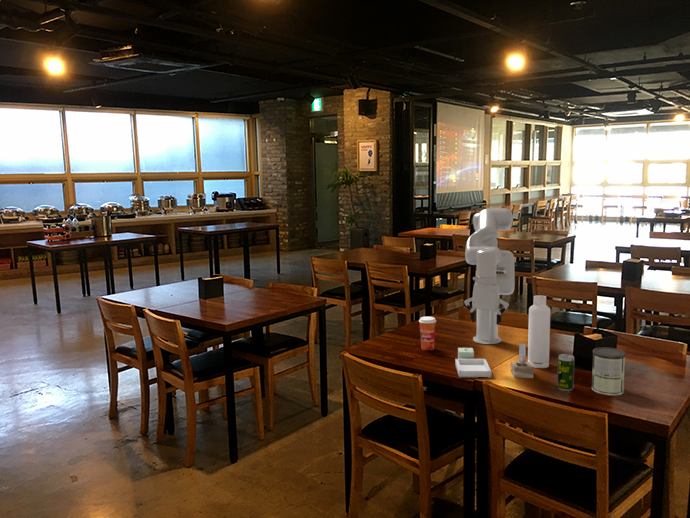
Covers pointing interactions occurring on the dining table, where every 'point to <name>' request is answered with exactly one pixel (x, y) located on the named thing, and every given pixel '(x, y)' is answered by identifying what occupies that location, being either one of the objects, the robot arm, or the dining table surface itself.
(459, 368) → the grey tray
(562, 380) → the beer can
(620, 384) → the coffee can
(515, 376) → the beige square block
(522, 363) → the rod
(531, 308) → the bottle
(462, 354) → the green block
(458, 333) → the dining table surface
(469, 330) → the dining table surface
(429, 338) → the paper cup
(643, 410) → the dining table surface
